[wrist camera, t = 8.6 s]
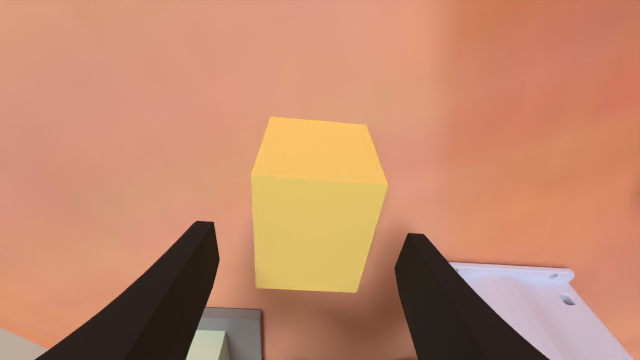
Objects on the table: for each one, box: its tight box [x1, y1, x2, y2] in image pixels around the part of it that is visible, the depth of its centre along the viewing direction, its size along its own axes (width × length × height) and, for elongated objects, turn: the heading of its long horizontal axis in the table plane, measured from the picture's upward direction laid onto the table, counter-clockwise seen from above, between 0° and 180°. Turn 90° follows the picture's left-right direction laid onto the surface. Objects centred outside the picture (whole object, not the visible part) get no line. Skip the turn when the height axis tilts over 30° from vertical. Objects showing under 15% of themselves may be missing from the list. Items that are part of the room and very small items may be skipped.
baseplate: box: [197, 307, 263, 360], centre depth 24 cm, size 10×10×1 cm
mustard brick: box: [251, 116, 388, 293], centre depth 13 cm, size 4×6×5 cm
